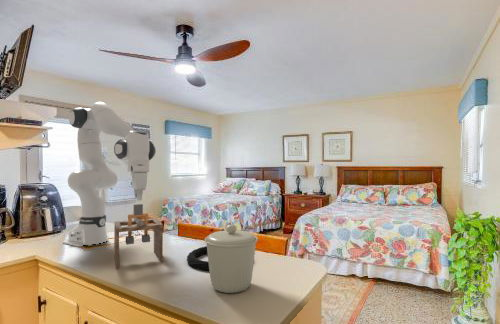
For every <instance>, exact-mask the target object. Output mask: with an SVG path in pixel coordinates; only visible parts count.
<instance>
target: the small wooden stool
mask: <svg viewBox="0 0 500 324" xmlns="http://www.w3.org/2000/svg"><path fill="white" fill-rule="evenodd" d="M113 225H114V233H113V234H114V239H113V241H114V243H113V244H114V248H113V249H114V252H113V255H114V256H113V257H114V264H115V269H116V270H119V268H120V233H124V232H127V233H128V231H132V232H134V231H144V230H147V229H148V230H153V253H154V255H155V257H156V258H157V260H158V262H159V263H163V260H164V259H163V249H164V248H163V241H164V240H163V238H164V236H163V234H164V229H163V227H164V225H163V223H162V222H161V221H160V220H158V219H157V218H155V217H154V218H148V225H144V218H143V219H141V217H140V218H132V226H128V220H120V221H114V224H113Z"/></svg>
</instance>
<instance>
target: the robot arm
mask: <svg viewBox="0 0 500 324" xmlns="http://www.w3.org/2000/svg"><path fill="white" fill-rule="evenodd" d="M68 115H69V116H68V120H69V125H71V126H72V127H73V128H75V129H78V130H77V136H76V137H77V140H76V141H77V150H78V158H79V160H80V162H81V163H82V164H84V165H86V166H87V167H88V168H89V169H81V170H76V171H72V172H71V173H70V174H69V175H68V178H67V185H68V187H69V188H70V189H71V190H72V191H74V192H75V193H76V194H77V196H78V197H79V199H80V203H81V217H79V218H77V221H79V222H78V224H77V225H76V226H74V227H72V229H70V231H69V232H68V237H67V239H64V240H63V241H62V244H64V245H70V246H73V247H84V246H83V245H88V246H93V245H92V244H96V245H100V244H99V243H101V244H104V243H103V242H105V243H107V242H109V236H108V232H107V224H106V222H107V215H106V200H105V199H104V198H102V197H100V196H99V194H98V193H97V190H98V191H100V190H101V191H102V190H107V189H110V188H114V187H115V186H116V185H117V183H118V175H117V173H116V172H115V171H114V170H112V169H111V168H110V167H109V166H108V164H107V163H106V161H105V159H104V155H103V152H102V151H103V149H102V144H101V137H100V133H101V132H102V133H104V134H106V135H111V136H116V137H121V139H118V140H117V141H116V143H115V144H114V147H113V150H114V155H115V156H116V157H117V159H119V160H122V161H127V172H130V176H131V187H132V188H133V191H134V198H135V199H136V200H137V201H142V200H143V193H144V192H143V191H145V190H146V189H147V182H148V173H149V172H150V161H151V160H152V159H153V158H154V156H155V155H156V152H157V151H156V147H155V145H154V142H152V141H151V140H150V138H149V134H148V133H147V132H145V131H140V130H137V129H135V127H133V126H132V125H131V124H130V123H128V122H127V121H126V120H124V119H123V118H121V116H119V115H118V113H116V111H114V109H113V108H112V107H111V106H109V105H108V104H107V103H105V102H102V101H97V102H94V103H93V104H92V105H91V106H90V108H89V107H88V108H86V107H75V108H73V109H71V110H70V112H69V114H68ZM106 241H107V242H106Z"/></svg>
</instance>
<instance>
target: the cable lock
mask: <svg viewBox="0 0 500 324" xmlns="http://www.w3.org/2000/svg"><path fill="white" fill-rule="evenodd" d="M204 255H208V253H207V245H205V246H202V247H198V248H196V249H193V250H192V251H190V252H189V253H188V254H187V257H186V262H187V264H188V265H189V266H190V267H192V268H193V269H195V270H198V271H200V270H201V271H206V272H210V271H209V263H208V261H206V260H201V259H198V258H199V257H201V256H204Z"/></svg>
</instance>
